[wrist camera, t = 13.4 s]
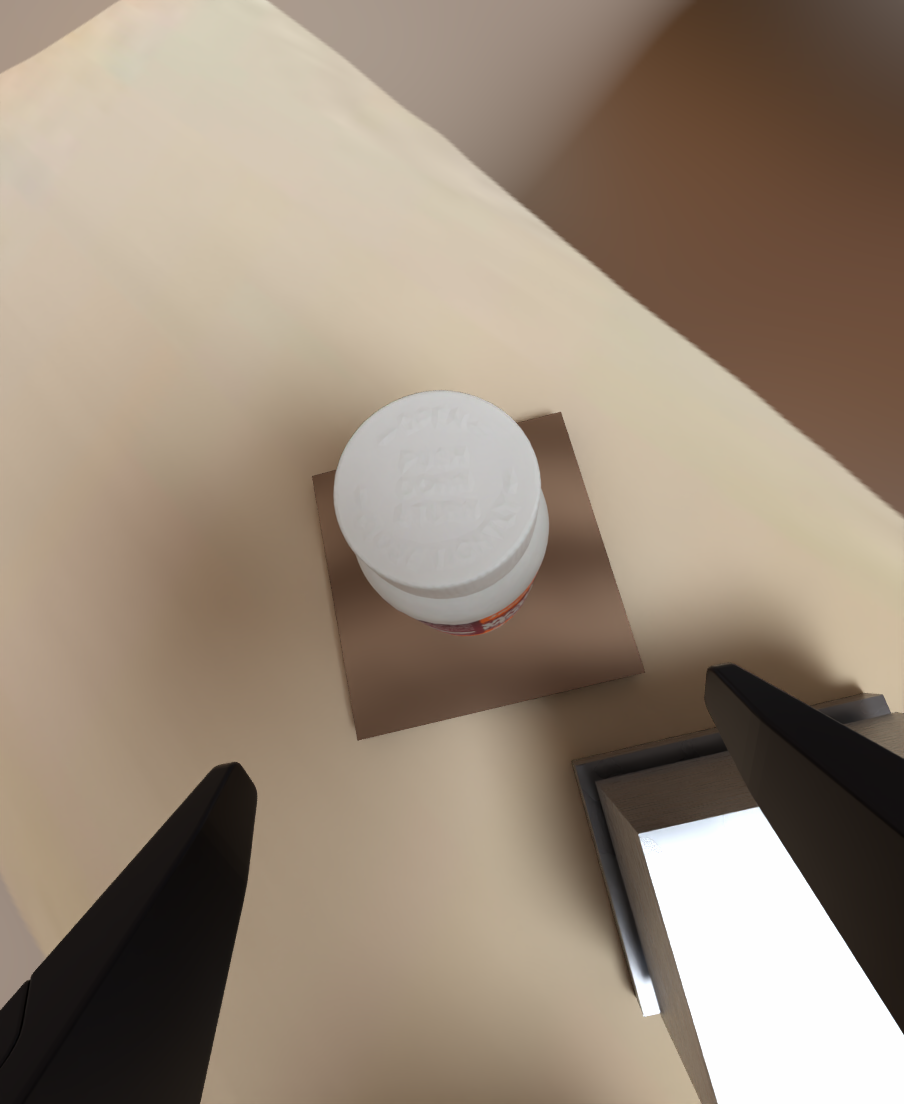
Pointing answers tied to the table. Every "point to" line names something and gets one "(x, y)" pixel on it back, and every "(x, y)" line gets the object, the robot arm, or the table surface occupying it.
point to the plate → (504, 653)
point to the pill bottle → (444, 510)
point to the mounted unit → (737, 926)
